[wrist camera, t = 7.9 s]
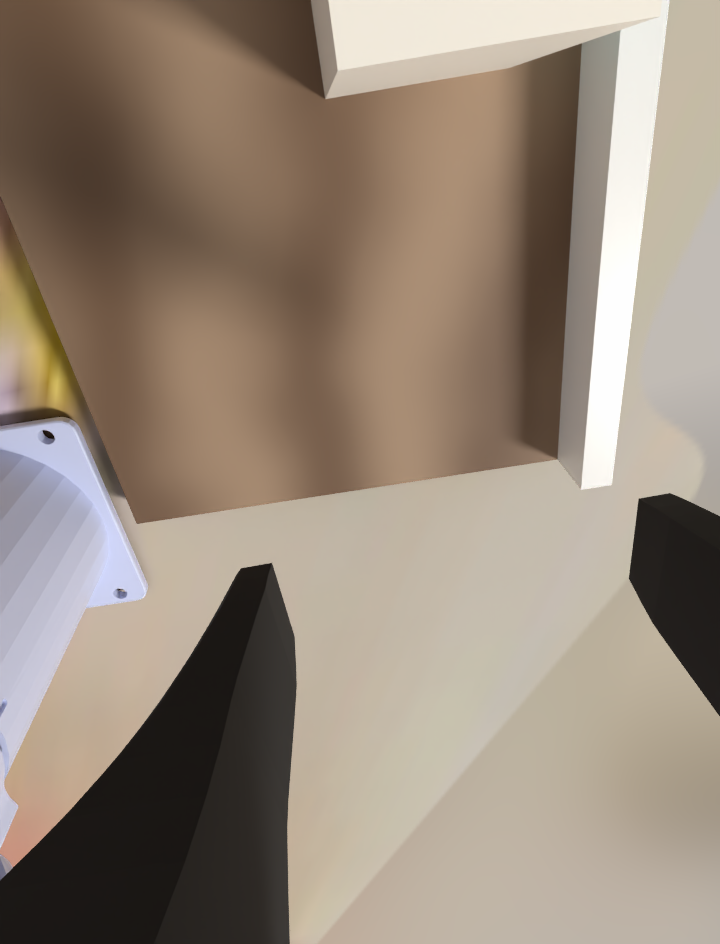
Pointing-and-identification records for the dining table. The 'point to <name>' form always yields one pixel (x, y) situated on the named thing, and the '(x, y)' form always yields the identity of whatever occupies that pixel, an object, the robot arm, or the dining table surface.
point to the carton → (453, 36)
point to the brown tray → (323, 248)
